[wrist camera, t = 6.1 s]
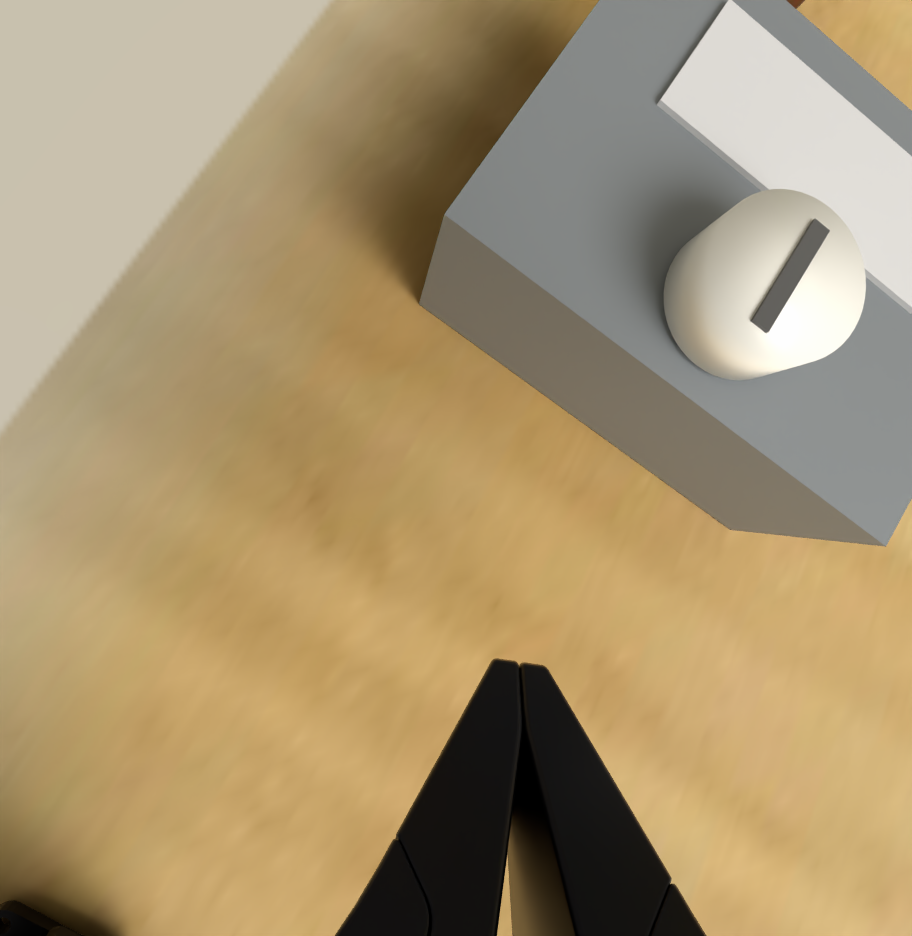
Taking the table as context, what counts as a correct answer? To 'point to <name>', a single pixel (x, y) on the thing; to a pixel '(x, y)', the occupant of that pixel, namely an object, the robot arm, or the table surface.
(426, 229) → the table surface
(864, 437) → the console
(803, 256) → the knob
